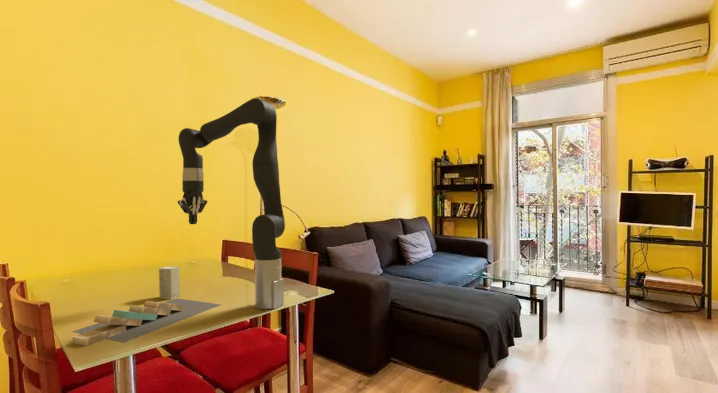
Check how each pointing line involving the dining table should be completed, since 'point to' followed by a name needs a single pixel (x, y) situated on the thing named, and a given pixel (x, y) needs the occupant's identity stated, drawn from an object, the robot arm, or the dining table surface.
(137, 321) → the domino
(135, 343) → the dining table surface
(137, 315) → the domino
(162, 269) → the skincare box
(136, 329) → the mat
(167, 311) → the domino
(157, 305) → the domino
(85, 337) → the domino
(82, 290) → the dining table surface
